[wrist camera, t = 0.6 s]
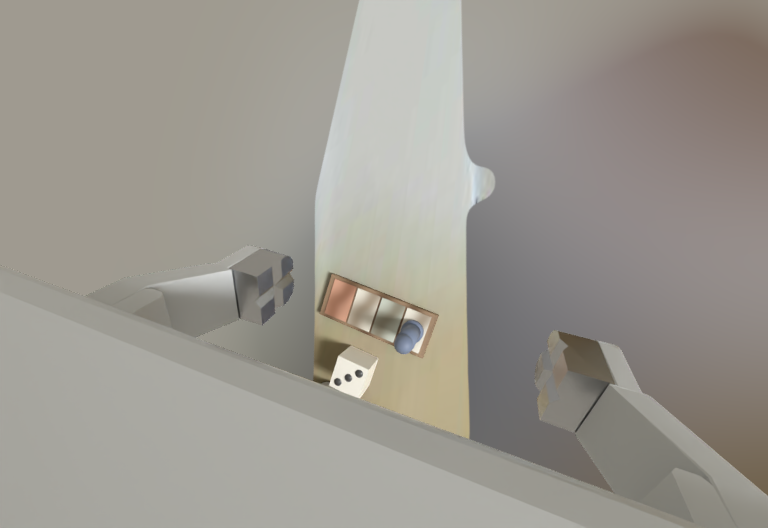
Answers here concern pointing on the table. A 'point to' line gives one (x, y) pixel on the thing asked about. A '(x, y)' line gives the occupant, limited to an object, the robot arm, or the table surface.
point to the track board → (374, 312)
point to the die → (353, 371)
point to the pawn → (408, 336)
